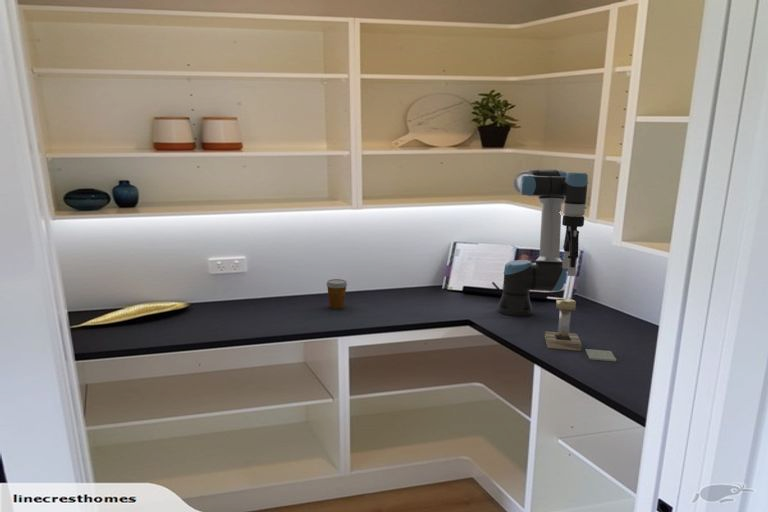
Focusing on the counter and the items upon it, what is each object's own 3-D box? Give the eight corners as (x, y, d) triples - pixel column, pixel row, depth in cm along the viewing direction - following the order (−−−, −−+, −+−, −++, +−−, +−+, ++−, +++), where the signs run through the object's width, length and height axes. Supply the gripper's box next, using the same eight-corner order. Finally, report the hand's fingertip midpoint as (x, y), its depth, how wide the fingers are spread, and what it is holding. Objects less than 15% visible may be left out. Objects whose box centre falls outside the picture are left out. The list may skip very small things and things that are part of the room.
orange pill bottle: (340, 303, 263) (341, 278, 261) (350, 308, 255) (351, 282, 253) (322, 305, 258) (322, 280, 256) (332, 310, 250) (332, 284, 248)
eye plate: (544, 337, 221) (545, 331, 221) (576, 340, 219) (576, 333, 219) (547, 347, 210) (548, 341, 209) (581, 350, 208) (581, 344, 207)
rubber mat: (585, 350, 208) (585, 349, 208) (610, 352, 206) (611, 351, 206) (589, 359, 199) (589, 357, 199) (616, 361, 197) (616, 359, 197)
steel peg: (551, 340, 218) (555, 297, 215) (570, 341, 217) (574, 299, 214) (553, 346, 212) (557, 302, 208) (573, 347, 210) (577, 304, 207)
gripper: (590, 219, 192) (584, 280, 196) (579, 212, 216) (574, 266, 220) (567, 218, 193) (562, 278, 197) (558, 211, 218) (554, 264, 222)
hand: (568, 272), depth 209 cm, fingers open, 13 cm apart
